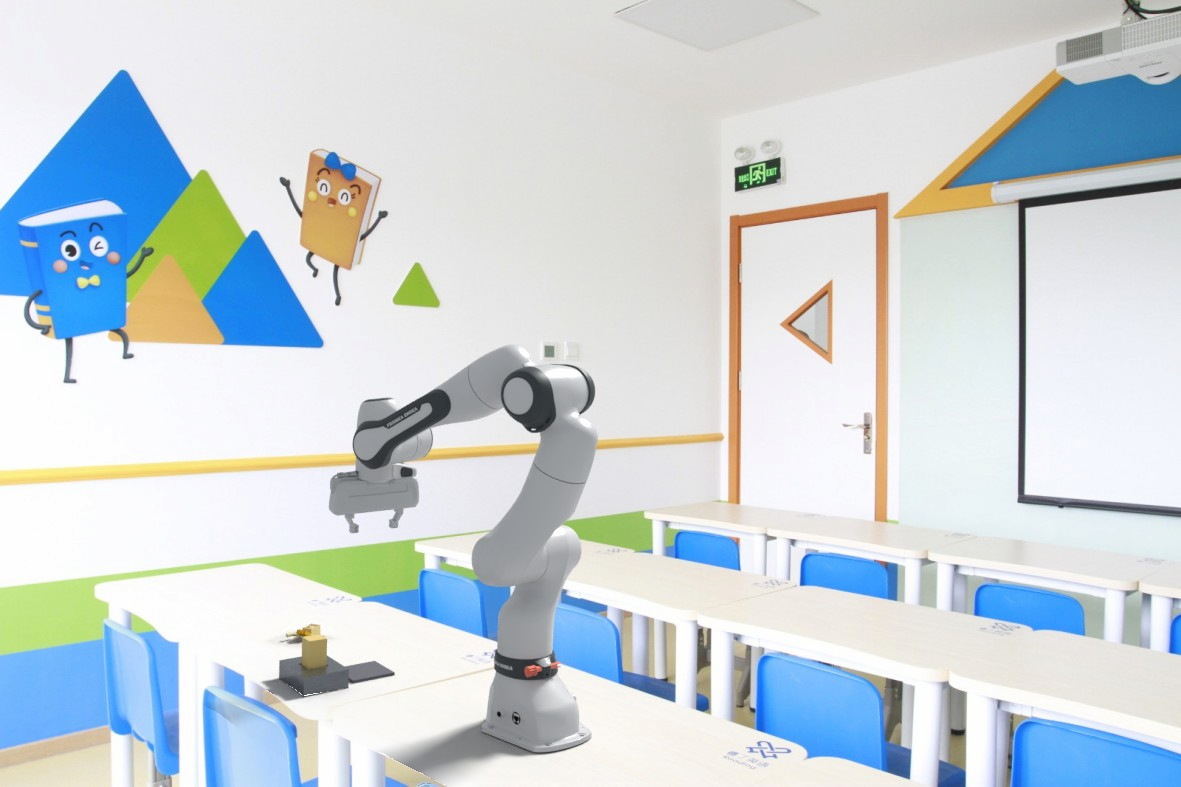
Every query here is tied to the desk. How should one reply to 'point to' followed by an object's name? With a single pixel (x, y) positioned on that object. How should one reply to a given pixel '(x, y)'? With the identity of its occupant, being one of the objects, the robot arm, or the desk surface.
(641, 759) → the desk surface
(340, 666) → the grey block with hole
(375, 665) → the rubber mat
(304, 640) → the square block
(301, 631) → the character toy
